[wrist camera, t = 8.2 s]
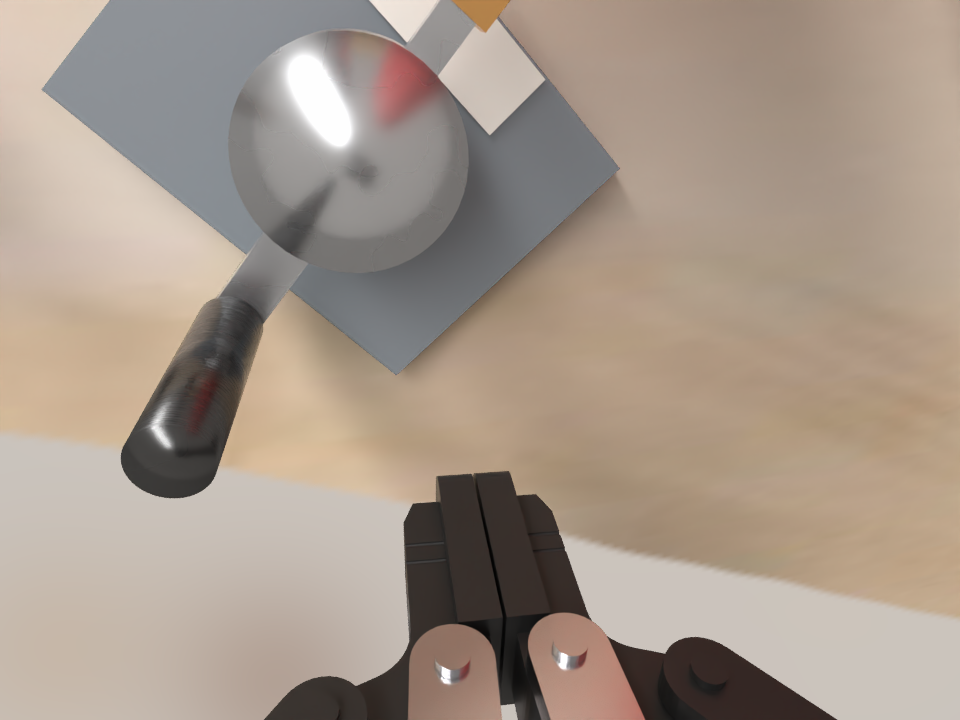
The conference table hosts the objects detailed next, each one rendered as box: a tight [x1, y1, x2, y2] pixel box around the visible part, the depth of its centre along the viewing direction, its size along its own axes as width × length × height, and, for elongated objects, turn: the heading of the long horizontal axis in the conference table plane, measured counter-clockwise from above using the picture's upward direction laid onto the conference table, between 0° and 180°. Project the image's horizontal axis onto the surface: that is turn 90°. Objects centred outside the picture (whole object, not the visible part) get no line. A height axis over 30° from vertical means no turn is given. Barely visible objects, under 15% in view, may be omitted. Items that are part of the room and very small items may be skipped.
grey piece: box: [121, 0, 510, 498], centre depth 15 cm, size 6×13×8 cm, turn 140°
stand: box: [42, 0, 620, 375], centre depth 20 cm, size 11×14×4 cm
